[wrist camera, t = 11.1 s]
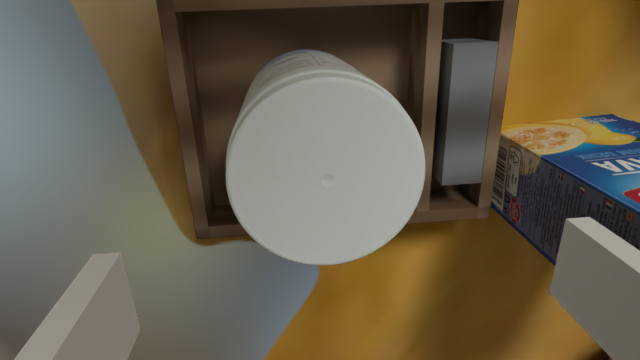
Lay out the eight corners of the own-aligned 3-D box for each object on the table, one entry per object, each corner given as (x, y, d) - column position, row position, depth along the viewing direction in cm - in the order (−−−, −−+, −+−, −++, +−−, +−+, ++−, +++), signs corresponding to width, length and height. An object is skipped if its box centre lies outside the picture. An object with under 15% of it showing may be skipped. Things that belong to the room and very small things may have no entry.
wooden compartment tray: (172, -4, 29) (151, -6, 24) (488, -14, 31) (529, -19, 26) (206, 212, 36) (194, 245, 31) (465, 194, 37) (494, 222, 32)
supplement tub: (327, 187, 35) (359, 299, 21) (223, 135, 32) (184, 226, 19) (390, 85, 32) (471, 140, 19) (281, 20, 30) (284, 30, 16)
